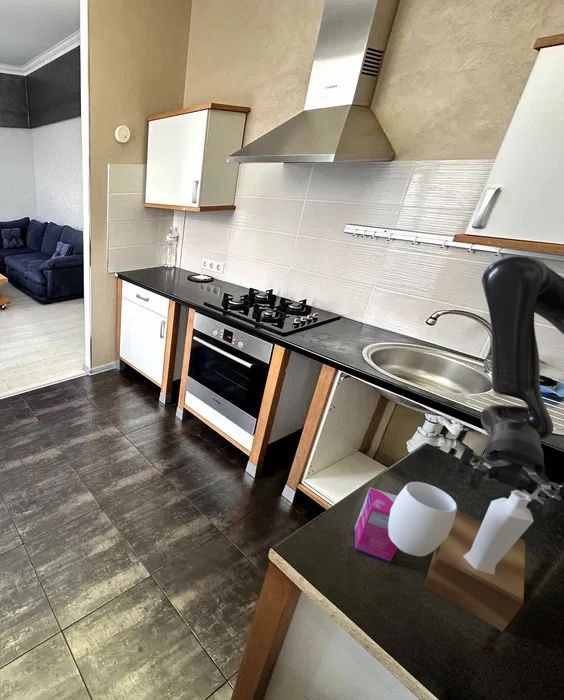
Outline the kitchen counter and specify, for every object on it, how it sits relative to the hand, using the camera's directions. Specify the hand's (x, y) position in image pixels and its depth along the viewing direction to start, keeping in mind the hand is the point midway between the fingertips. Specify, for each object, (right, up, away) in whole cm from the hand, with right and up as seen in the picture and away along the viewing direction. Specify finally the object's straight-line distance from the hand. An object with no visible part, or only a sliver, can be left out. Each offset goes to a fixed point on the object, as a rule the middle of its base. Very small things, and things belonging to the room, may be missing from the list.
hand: (511, 499), depth 62 cm
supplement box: (-15, -14, +11) cm, 23 cm away
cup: (-17, -17, +4) cm, 25 cm away
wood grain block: (-2, -16, +6) cm, 17 cm away
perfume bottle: (-5, -11, 0) cm, 12 cm away
